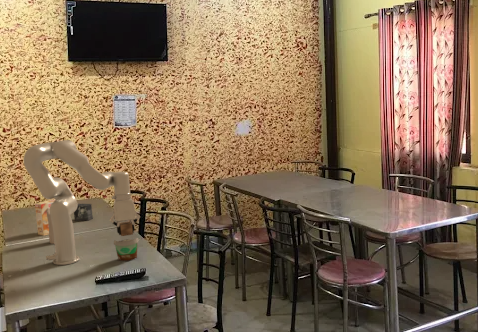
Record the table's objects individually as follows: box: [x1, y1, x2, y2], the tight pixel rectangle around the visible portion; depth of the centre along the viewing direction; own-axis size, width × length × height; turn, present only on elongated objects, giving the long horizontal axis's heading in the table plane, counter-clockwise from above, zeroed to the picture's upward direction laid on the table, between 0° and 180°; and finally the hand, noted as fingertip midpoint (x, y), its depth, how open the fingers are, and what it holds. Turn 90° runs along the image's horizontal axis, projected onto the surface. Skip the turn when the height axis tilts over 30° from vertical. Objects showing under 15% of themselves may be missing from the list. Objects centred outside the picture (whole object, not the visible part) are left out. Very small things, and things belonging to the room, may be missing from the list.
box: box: [73, 203, 94, 222], centre depth 360 cm, size 11×7×10 cm, turn 73°
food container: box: [113, 237, 139, 262], centre depth 264 cm, size 12×6×10 cm, turn 105°
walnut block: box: [120, 220, 134, 237], centre depth 263 cm, size 6×6×6 cm
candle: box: [47, 208, 55, 245], centre depth 303 cm, size 7×14×20 cm, turn 59°
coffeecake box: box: [34, 198, 56, 237], centre depth 328 cm, size 15×7×20 cm, turn 143°
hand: (126, 233), depth 263 cm, fingers closed on walnut block, 5 cm apart
